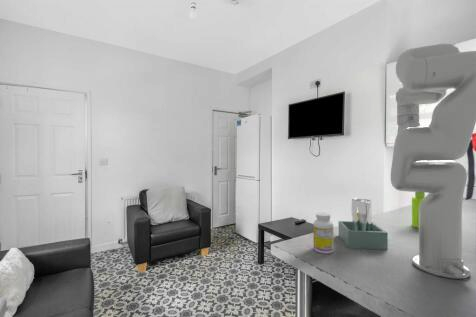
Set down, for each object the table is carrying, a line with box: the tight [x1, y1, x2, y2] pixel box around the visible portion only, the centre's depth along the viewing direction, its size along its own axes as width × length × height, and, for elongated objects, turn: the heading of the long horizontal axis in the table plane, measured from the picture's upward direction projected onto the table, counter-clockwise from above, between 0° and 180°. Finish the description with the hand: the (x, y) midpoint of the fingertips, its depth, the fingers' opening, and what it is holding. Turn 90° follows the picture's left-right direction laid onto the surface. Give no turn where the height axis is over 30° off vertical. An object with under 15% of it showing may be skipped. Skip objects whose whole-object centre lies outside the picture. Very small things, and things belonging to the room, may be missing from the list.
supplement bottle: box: [312, 212, 335, 255], centre depth 82 cm, size 7×7×13 cm
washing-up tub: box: [338, 220, 389, 251], centre depth 89 cm, size 13×13×6 cm
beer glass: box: [350, 198, 373, 231], centre depth 89 cm, size 7×7×15 cm
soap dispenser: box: [411, 192, 426, 229], centre depth 107 cm, size 6×7×20 cm
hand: (408, 161), depth 98 cm, fingers open, 9 cm apart
